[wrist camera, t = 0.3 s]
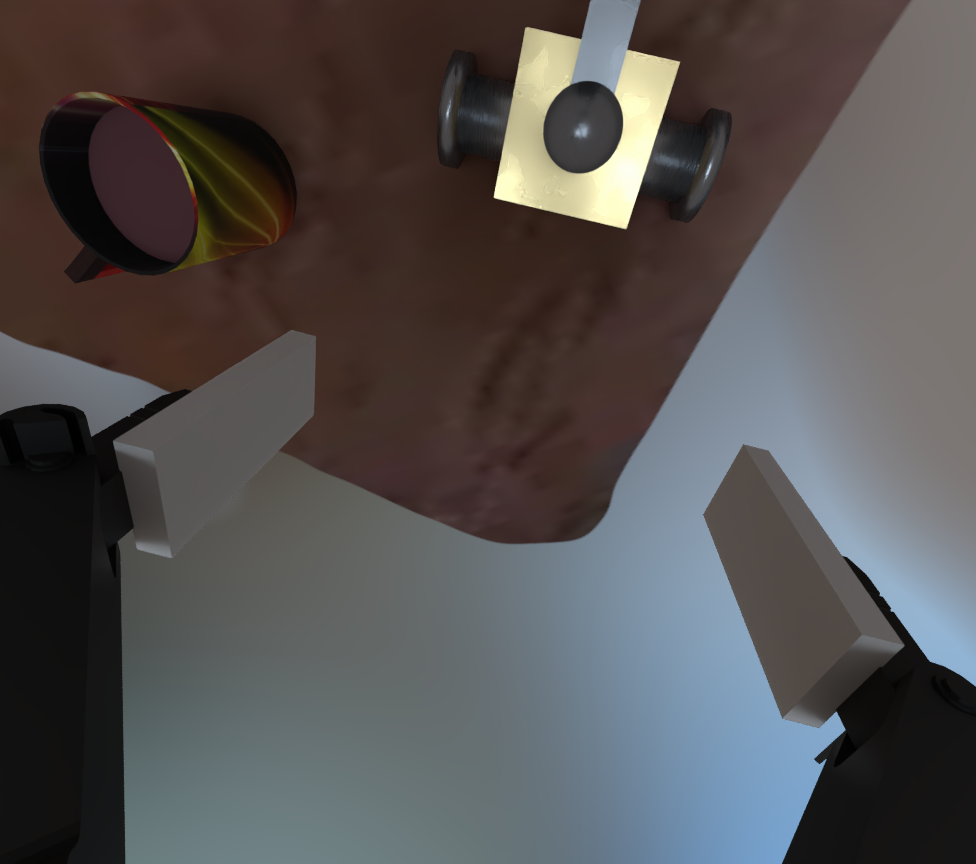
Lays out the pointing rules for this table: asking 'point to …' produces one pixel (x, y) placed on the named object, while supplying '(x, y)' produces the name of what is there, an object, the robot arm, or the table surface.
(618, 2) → the lever
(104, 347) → the table surface
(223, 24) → the table surface
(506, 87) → the valve
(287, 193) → the mug
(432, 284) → the table surface
